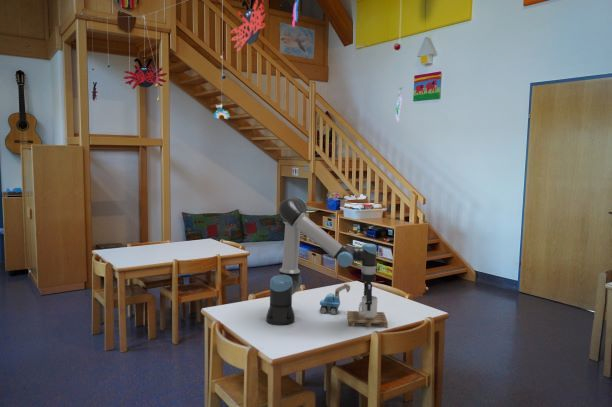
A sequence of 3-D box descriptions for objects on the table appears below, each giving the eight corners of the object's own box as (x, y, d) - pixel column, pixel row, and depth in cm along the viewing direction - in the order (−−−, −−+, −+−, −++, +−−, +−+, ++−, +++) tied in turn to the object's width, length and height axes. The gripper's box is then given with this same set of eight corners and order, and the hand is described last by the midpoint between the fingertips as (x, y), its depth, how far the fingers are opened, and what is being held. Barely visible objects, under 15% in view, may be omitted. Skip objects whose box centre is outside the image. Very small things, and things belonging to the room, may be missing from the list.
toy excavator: (348, 316, 272) (349, 285, 270) (318, 313, 275) (319, 283, 274) (349, 311, 280) (350, 281, 279) (321, 308, 284) (321, 279, 282)
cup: (379, 316, 263) (380, 298, 262) (364, 321, 255) (365, 301, 254) (368, 312, 269) (369, 294, 268) (352, 316, 262) (353, 298, 261)
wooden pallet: (348, 326, 256) (349, 320, 255) (347, 316, 272) (347, 310, 271) (387, 327, 255) (387, 321, 255) (383, 317, 271) (383, 312, 271)
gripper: (378, 279, 248) (376, 320, 250) (373, 268, 273) (371, 305, 275) (363, 278, 248) (361, 319, 251) (359, 267, 273) (358, 304, 275)
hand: (367, 312), depth 263 cm, fingers open, 13 cm apart
